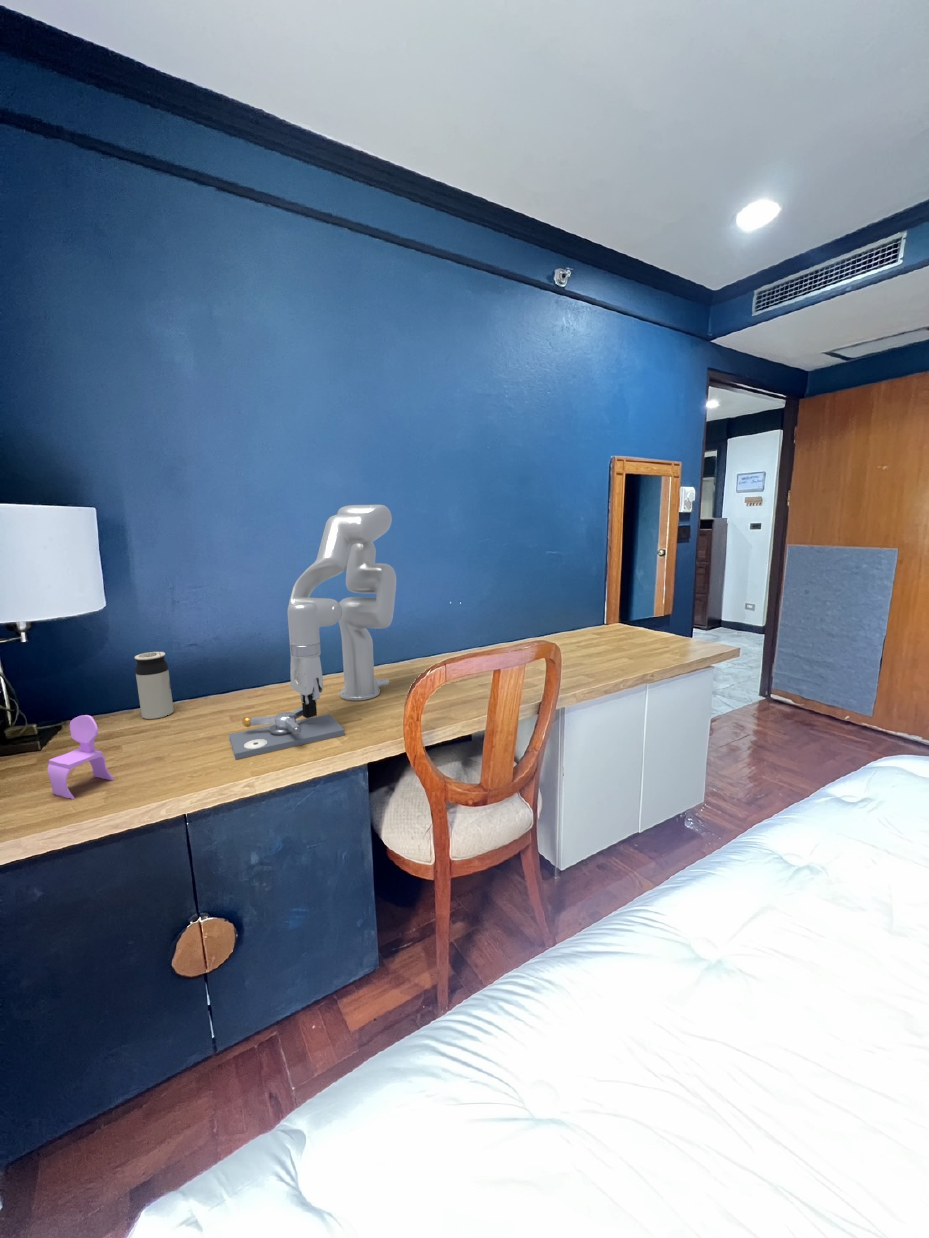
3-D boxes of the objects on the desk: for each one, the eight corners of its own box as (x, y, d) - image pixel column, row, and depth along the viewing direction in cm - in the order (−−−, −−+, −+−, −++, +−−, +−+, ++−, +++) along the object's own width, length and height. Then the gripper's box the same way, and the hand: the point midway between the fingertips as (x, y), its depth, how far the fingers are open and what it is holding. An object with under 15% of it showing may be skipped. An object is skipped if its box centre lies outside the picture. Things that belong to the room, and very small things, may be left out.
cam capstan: (313, 715, 138) (312, 702, 137) (301, 742, 121) (299, 727, 120) (253, 719, 136) (252, 705, 135) (232, 746, 119) (230, 731, 118)
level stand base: (330, 718, 140) (330, 713, 140) (344, 735, 129) (344, 728, 129) (229, 739, 127) (228, 733, 127) (235, 759, 116) (234, 752, 116)
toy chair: (47, 794, 102) (34, 725, 99) (92, 774, 110) (81, 710, 107) (73, 801, 99) (61, 731, 96) (117, 780, 107) (107, 715, 104)
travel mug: (139, 721, 140) (130, 659, 136) (144, 712, 147) (136, 653, 143) (172, 717, 143) (164, 656, 139) (175, 708, 150) (167, 650, 147)
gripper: (279, 647, 132) (284, 712, 136) (304, 657, 122) (309, 728, 125) (306, 642, 137) (310, 706, 141) (332, 652, 127) (336, 720, 130)
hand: (310, 716), depth 133 cm, fingers closed
